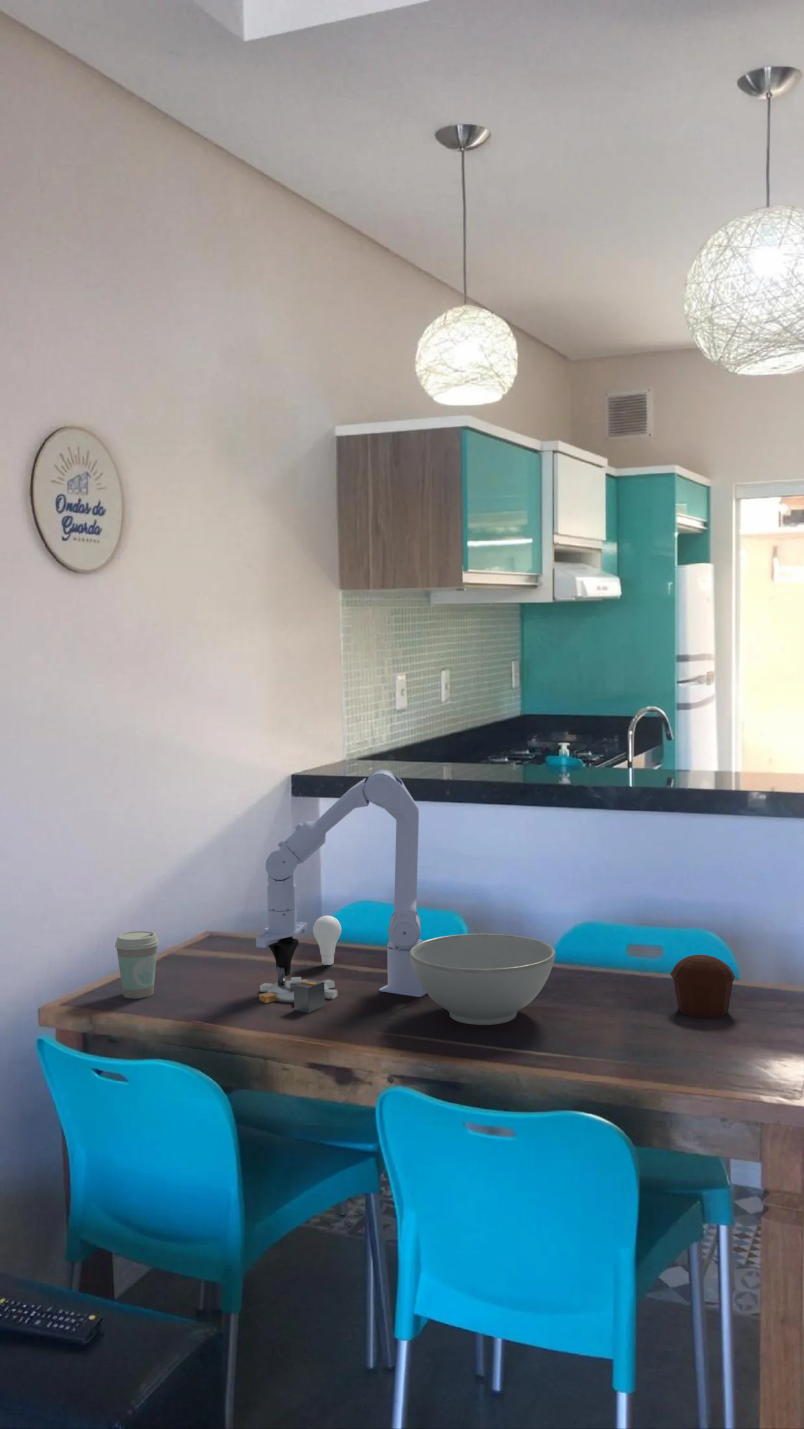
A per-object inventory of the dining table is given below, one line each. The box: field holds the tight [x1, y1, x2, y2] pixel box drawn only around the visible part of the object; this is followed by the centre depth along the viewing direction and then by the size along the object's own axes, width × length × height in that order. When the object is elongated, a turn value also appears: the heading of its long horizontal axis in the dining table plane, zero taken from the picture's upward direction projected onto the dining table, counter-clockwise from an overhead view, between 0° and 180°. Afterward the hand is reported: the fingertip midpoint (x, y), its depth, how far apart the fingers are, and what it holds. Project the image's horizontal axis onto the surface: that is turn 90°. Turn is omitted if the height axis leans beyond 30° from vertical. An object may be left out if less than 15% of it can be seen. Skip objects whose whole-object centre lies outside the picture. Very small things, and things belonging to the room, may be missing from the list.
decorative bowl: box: [410, 933, 556, 1026], centre depth 219 cm, size 27×27×12 cm
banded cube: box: [293, 978, 326, 1014], centre depth 224 cm, size 3×5×5 cm
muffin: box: [670, 954, 736, 1019], centre depth 220 cm, size 12×11×10 cm
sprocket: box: [258, 966, 338, 1004], centre depth 234 cm, size 16×16×5 cm
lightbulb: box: [312, 915, 342, 966], centre depth 256 cm, size 6×6×11 cm
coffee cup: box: [114, 930, 160, 1000], centre depth 236 cm, size 8×8×12 cm
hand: (283, 975), depth 238 cm, fingers closed, pressing on sprocket
